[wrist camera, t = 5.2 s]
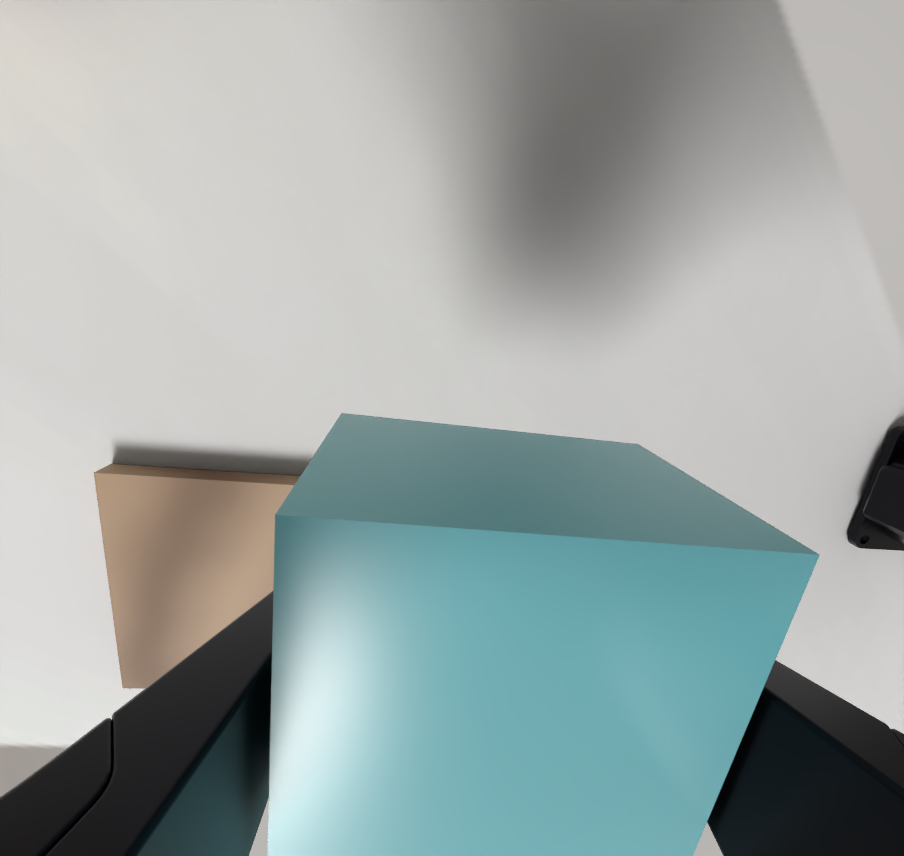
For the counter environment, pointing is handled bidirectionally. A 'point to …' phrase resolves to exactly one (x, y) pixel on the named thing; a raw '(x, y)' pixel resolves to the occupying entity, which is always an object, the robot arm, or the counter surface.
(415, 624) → the teal block
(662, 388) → the counter surface
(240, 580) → the post base
